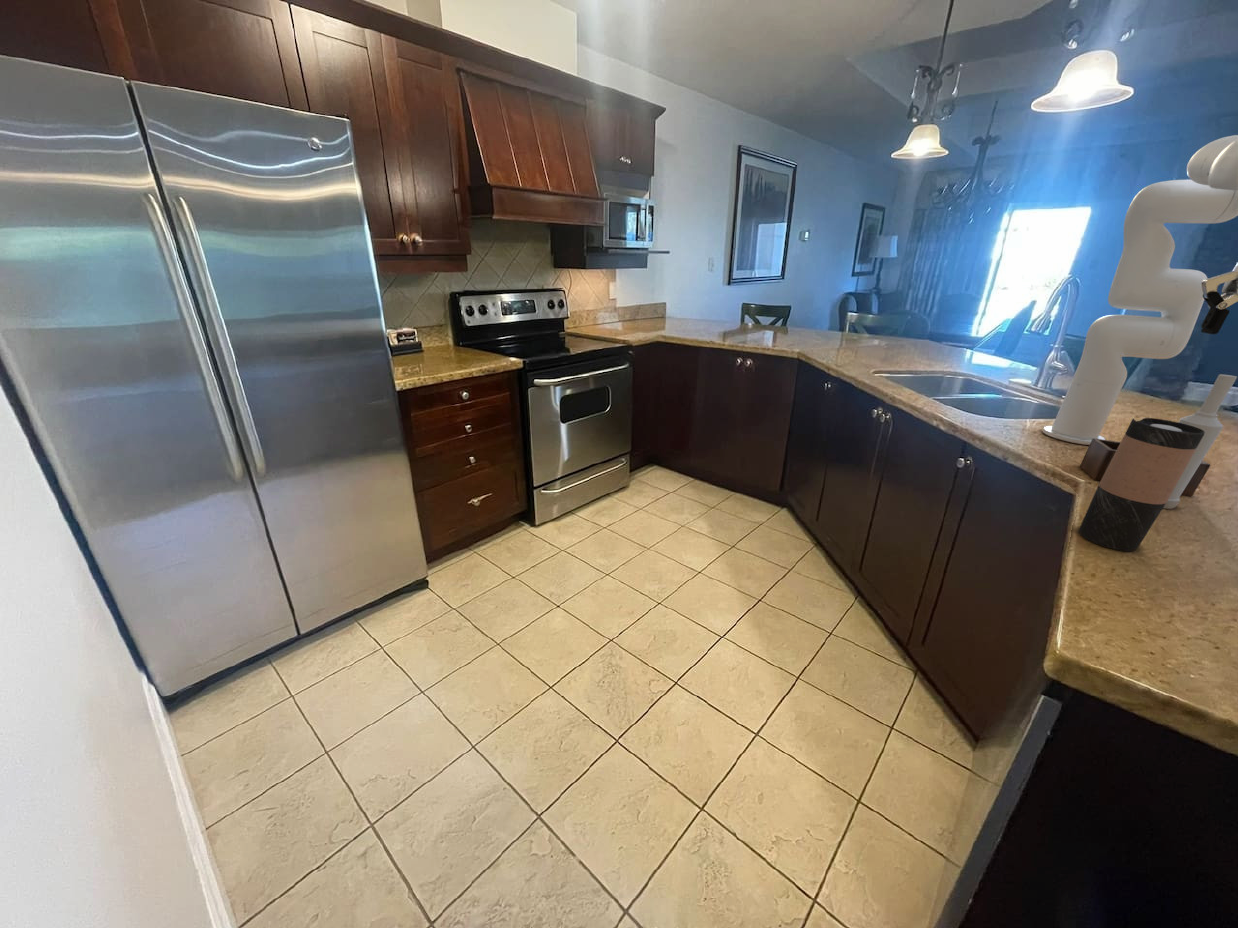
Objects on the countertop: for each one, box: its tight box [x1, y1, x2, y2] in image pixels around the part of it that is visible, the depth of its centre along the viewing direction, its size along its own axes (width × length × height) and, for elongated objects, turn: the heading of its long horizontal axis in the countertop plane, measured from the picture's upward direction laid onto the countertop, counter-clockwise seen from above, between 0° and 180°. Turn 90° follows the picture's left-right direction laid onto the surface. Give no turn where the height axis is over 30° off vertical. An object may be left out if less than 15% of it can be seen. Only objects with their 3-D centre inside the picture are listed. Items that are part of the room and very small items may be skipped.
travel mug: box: [1078, 417, 1205, 552], centre depth 74 cm, size 8×8×20 cm
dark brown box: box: [1078, 438, 1211, 497], centre depth 100 cm, size 8×15×7 cm, turn 65°
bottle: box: [1163, 374, 1238, 510], centre depth 86 cm, size 5×5×25 cm
